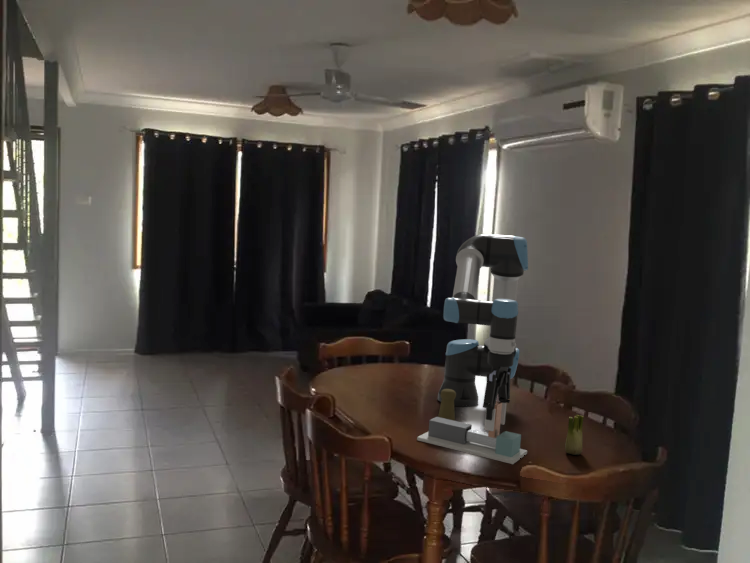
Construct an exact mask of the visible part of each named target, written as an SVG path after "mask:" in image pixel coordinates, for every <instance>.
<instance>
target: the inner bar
mask: <svg viewBox="0 0 750 563" xmlns="http://www.w3.org/2000/svg"><path fill="white" fill-rule="evenodd" d="M494 409H496V412H495V423H494V431H489V430H487V431H488V432H486V431H482V430H477V429H474V428H471V429H470V428H468V429H466V433H465V441H469V442H474V443H478V444H482V445H486V446H490V447H494V448H496V439H497V436H498V435H500V434H501V433H500V431H501V430H500V429H501V424H500V422H501V411H502V402H500V401H499V400H498V401H497V400H496V403H495V408H494Z"/></svg>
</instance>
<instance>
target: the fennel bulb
mask: <svg viewBox="0 0 750 563" xmlns="http://www.w3.org/2000/svg"><path fill="white" fill-rule="evenodd" d="M584 418H585V416H584V415H581V414H580V415H579V414H575V415H574V418H573V417H572V416H569V417H568V425H567V426H568V427H567V434H566V439H565V445H564V451H565V452H566V453H567V454H569V455H572V456H573V455H574V456H580V455H582V453H583V424H584Z"/></svg>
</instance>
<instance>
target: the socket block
mask: <svg viewBox="0 0 750 563" xmlns="http://www.w3.org/2000/svg"><path fill="white" fill-rule="evenodd" d="M521 442H522V434H520V433H517V432H512V431H507V430H506V431H503V432H502V433H499V435H498V436H497V439H496V450H495V453H496V454H500V455H504V456H508V457H513V456H514V455H515V454H517V453H518V452H520V449H521Z"/></svg>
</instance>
